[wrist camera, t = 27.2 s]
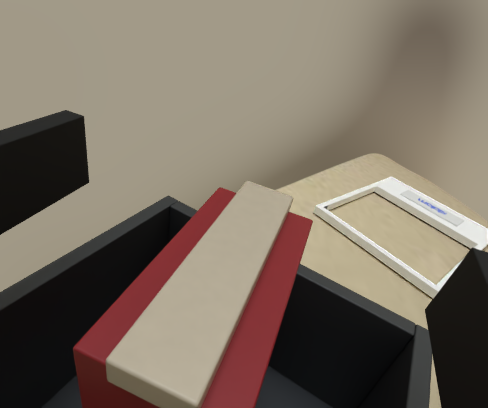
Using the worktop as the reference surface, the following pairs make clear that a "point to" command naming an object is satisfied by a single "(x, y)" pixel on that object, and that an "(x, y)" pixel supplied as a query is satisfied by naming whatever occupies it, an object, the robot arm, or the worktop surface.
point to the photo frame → (421, 208)
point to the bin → (283, 355)
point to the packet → (199, 310)
